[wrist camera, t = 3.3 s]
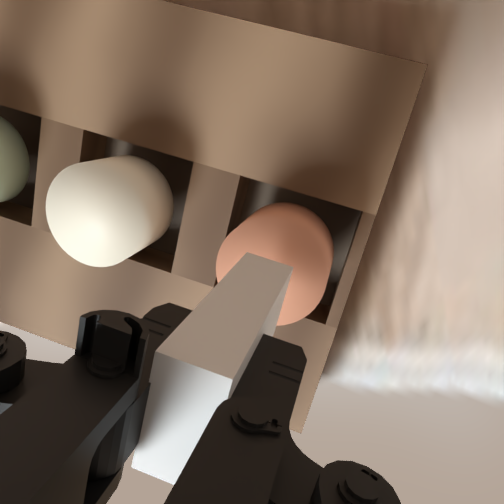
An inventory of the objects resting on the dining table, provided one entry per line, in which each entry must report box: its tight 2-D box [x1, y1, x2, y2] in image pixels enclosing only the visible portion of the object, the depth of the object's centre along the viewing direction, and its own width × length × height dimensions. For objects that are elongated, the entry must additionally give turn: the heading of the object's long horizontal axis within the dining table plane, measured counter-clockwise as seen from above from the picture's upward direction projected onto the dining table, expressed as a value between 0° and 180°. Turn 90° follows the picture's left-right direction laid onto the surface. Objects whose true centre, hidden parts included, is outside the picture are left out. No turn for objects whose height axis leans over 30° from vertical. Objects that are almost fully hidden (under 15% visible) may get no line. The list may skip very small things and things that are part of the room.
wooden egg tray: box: [0, 0, 428, 433], centre depth 22 cm, size 20×16×3 cm
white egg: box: [46, 155, 174, 267], centre depth 20 cm, size 4×4×3 cm
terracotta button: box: [216, 202, 334, 326], centre depth 18 cm, size 4×4×3 cm
